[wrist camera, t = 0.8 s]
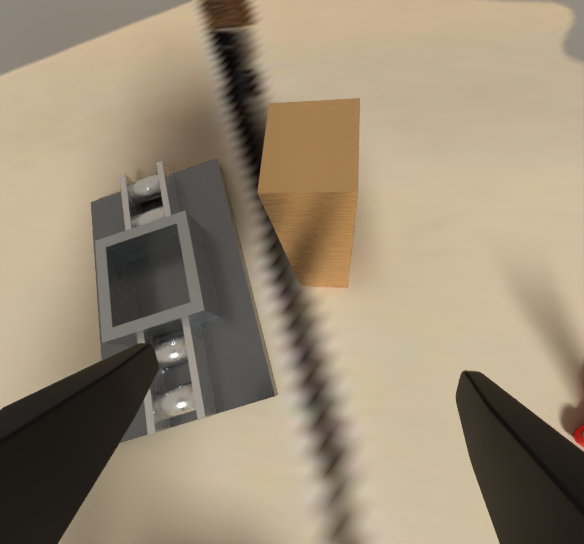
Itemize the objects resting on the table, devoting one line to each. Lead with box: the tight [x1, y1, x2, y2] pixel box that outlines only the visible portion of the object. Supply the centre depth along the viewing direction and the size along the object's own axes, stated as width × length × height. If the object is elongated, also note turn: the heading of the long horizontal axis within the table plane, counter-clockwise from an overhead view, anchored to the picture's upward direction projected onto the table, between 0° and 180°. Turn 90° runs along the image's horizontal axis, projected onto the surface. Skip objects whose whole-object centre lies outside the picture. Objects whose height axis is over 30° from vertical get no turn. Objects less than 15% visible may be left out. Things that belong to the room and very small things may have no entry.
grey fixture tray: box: [91, 159, 278, 443], centre depth 23 cm, size 20×12×4 cm, turn 16°
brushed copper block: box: [257, 98, 360, 288], centre depth 17 cm, size 4×4×13 cm
